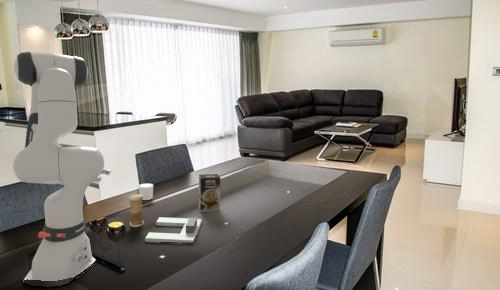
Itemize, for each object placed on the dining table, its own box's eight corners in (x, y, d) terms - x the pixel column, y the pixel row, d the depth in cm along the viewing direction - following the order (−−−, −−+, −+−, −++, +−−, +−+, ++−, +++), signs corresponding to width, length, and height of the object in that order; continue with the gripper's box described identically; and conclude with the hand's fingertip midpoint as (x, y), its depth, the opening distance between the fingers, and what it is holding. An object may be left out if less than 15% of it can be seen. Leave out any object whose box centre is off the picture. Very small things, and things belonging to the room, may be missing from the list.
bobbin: (141, 227, 159) (140, 199, 157) (127, 227, 160) (126, 198, 157) (145, 222, 165) (144, 194, 162) (132, 221, 165) (131, 194, 163)
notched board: (193, 244, 147) (193, 232, 146) (145, 241, 147) (145, 230, 146) (201, 222, 166) (201, 212, 165) (159, 220, 167) (159, 210, 166)
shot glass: (149, 202, 188) (149, 188, 186) (136, 200, 189) (136, 186, 188) (156, 197, 194) (155, 183, 193) (143, 196, 196) (142, 182, 194)
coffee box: (200, 212, 177) (200, 178, 173) (198, 207, 183) (198, 174, 179) (220, 211, 179) (220, 177, 176) (217, 206, 185) (218, 173, 182)
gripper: (57, 174, 148) (94, 175, 148) (82, 160, 168) (114, 161, 168) (58, 190, 149) (94, 191, 149) (83, 174, 169) (115, 175, 169)
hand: (105, 175), depth 158 cm, fingers open, 8 cm apart
